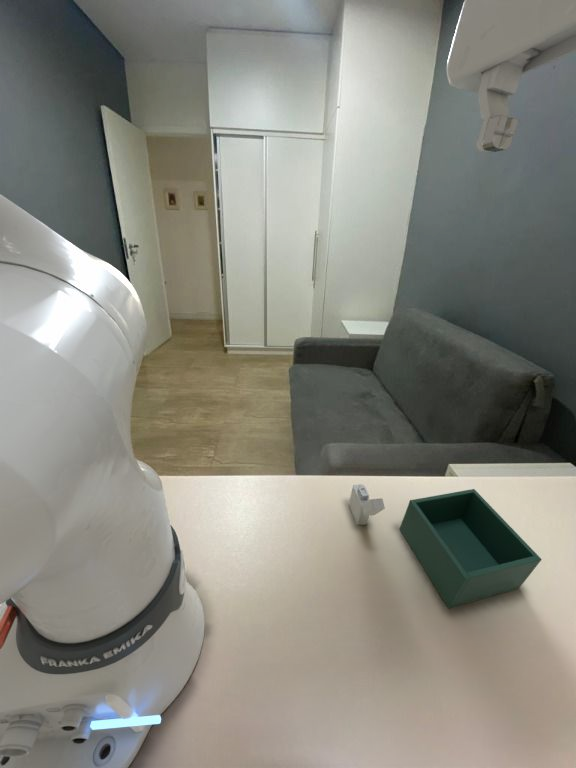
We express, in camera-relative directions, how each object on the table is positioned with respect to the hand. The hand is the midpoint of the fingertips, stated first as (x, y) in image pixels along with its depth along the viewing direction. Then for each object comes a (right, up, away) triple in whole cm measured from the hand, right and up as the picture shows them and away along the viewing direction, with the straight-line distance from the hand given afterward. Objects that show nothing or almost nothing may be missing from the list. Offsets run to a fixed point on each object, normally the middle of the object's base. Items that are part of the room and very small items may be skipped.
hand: (559, 135), depth 19 cm
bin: (+8, -40, +26) cm, 48 cm away
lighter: (-5, -37, +30) cm, 48 cm away
